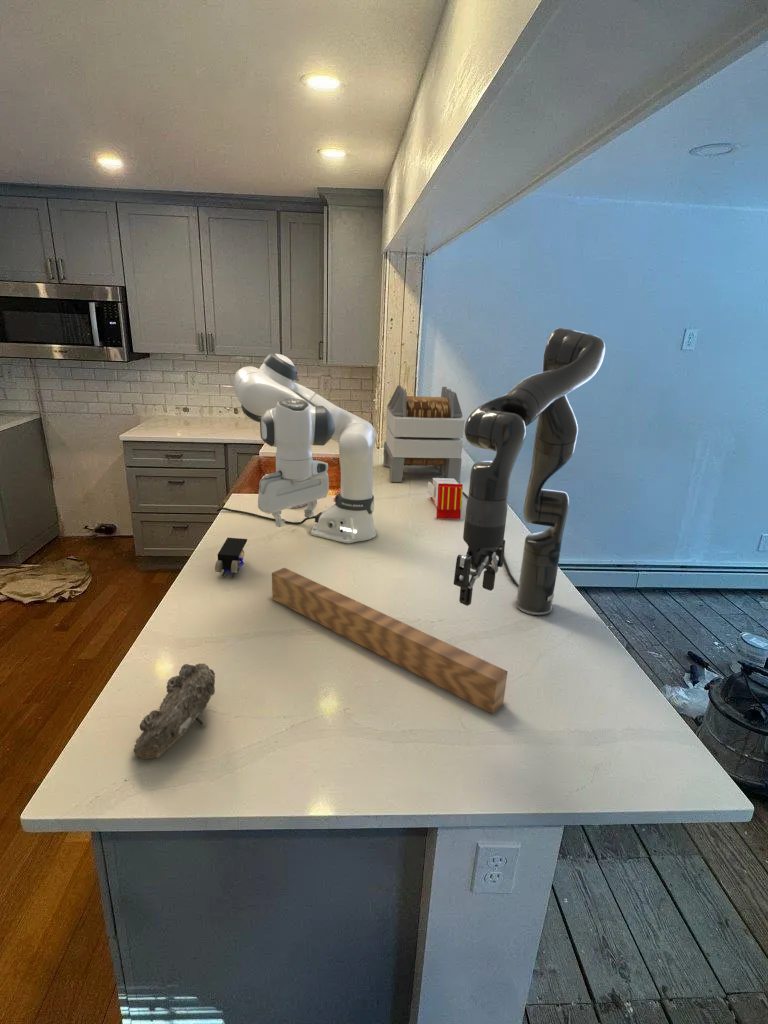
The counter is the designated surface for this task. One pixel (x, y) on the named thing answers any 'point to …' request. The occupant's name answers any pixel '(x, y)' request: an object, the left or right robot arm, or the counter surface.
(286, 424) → the left robot arm
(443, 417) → the transformer
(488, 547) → the right robot arm
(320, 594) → the post
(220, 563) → the figurine character
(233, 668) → the counter surface
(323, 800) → the counter surface
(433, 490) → the toy
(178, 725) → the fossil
